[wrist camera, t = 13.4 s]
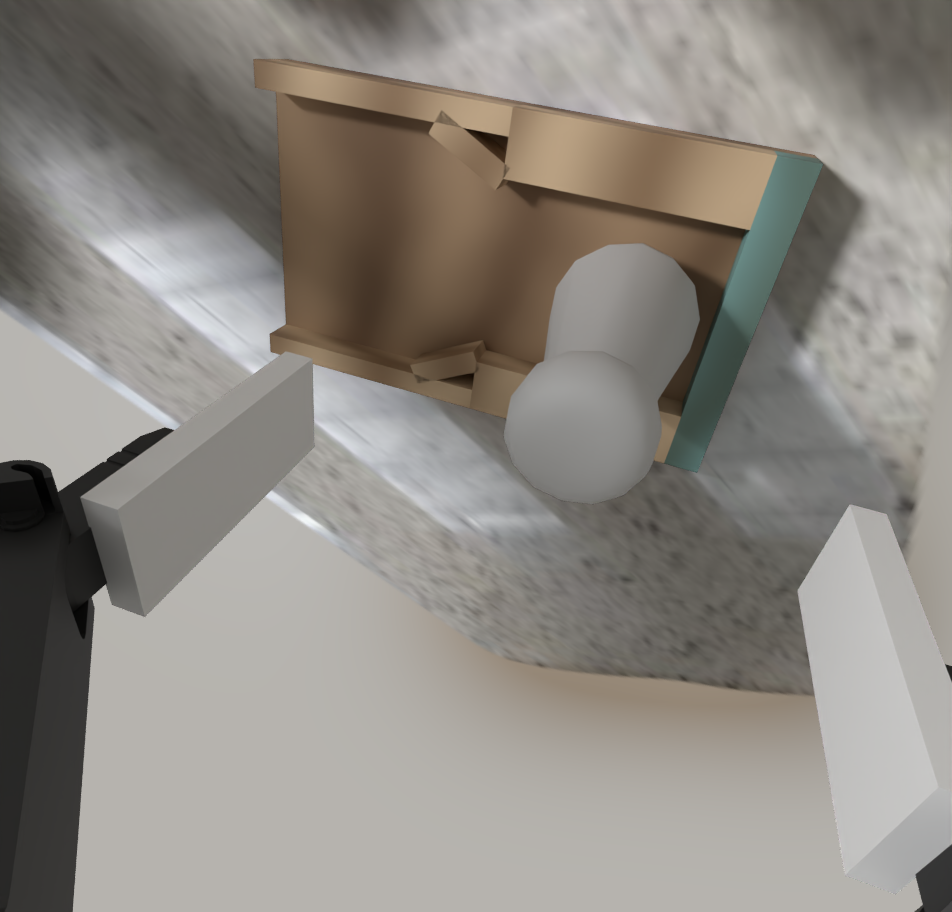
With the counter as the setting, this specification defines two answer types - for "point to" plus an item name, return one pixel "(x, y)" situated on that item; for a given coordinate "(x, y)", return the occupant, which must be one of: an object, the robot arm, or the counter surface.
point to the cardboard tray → (509, 234)
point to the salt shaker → (603, 374)
